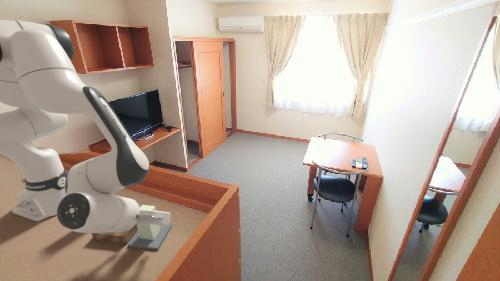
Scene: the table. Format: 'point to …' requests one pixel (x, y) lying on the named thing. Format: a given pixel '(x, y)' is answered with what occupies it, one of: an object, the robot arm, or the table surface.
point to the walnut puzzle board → (116, 235)
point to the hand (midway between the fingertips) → (148, 216)
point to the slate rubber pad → (151, 243)
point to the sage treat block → (148, 226)
